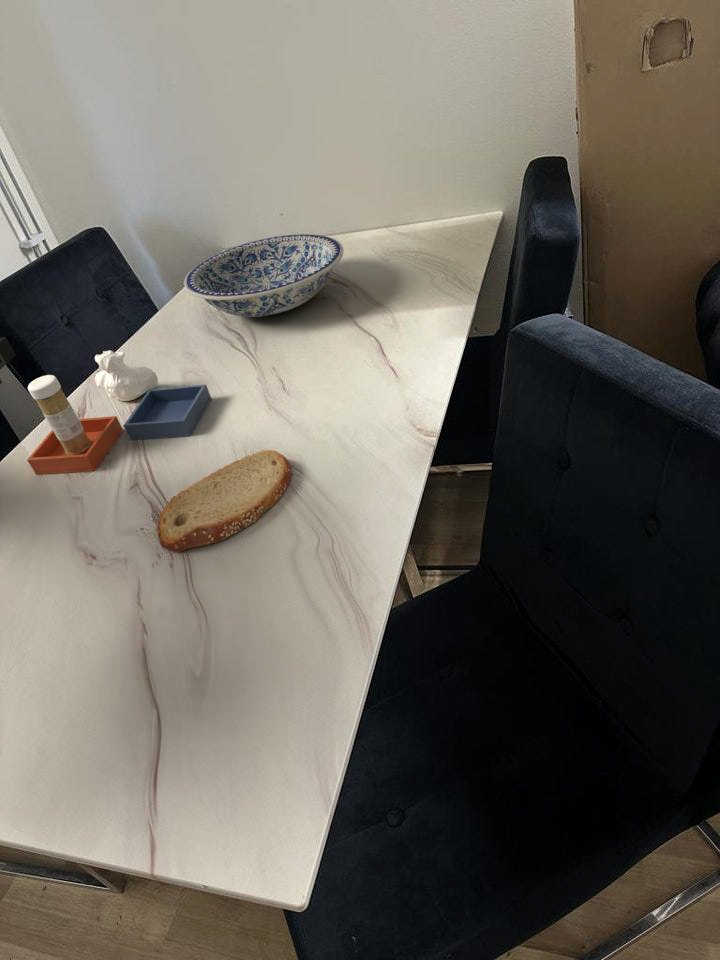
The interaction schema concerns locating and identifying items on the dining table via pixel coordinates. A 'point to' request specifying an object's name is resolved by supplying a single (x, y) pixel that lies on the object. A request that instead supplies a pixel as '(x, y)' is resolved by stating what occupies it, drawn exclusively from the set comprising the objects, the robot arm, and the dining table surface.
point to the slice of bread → (224, 501)
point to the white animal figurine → (123, 377)
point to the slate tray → (168, 412)
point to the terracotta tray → (56, 460)
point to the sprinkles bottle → (60, 414)
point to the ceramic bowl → (265, 274)
